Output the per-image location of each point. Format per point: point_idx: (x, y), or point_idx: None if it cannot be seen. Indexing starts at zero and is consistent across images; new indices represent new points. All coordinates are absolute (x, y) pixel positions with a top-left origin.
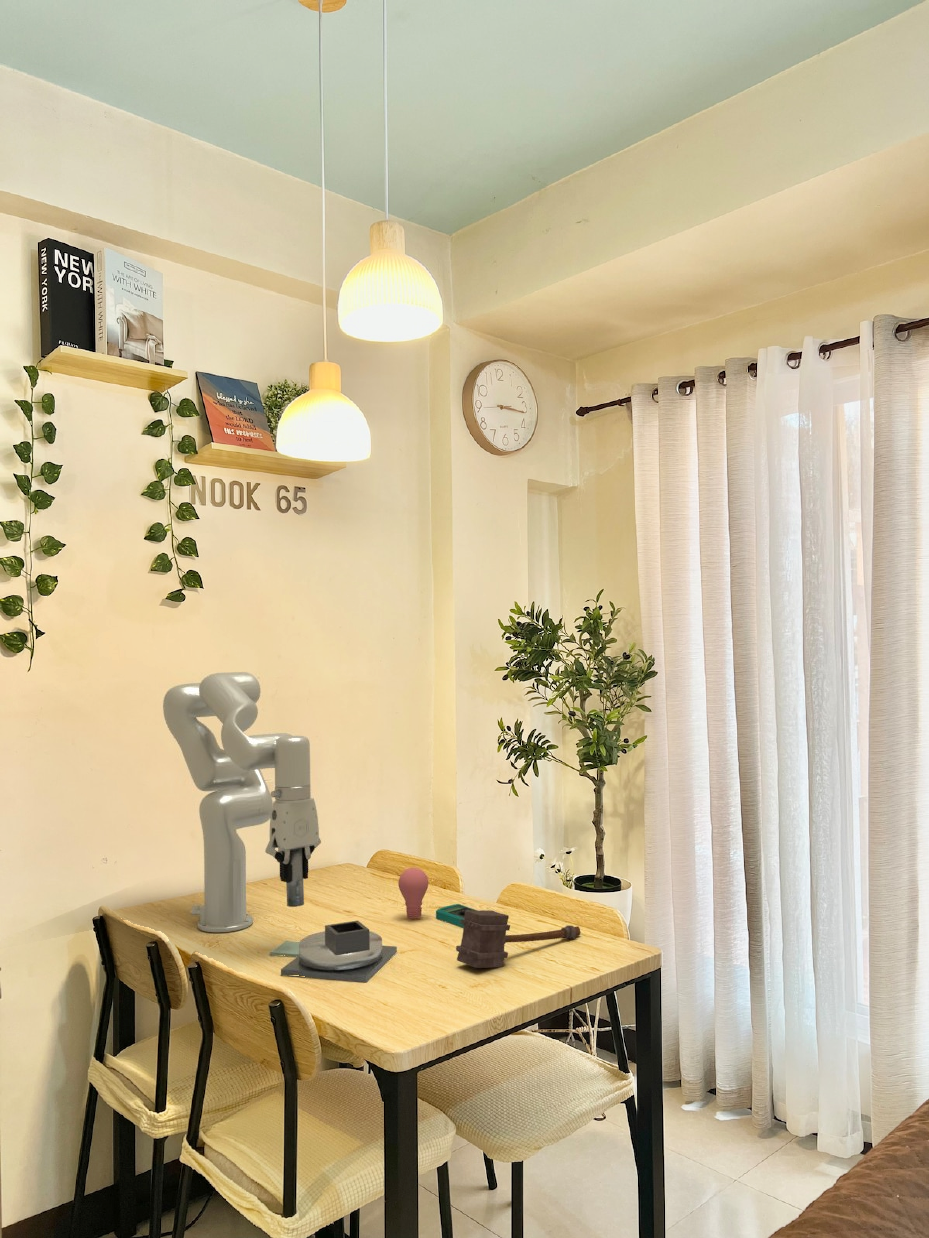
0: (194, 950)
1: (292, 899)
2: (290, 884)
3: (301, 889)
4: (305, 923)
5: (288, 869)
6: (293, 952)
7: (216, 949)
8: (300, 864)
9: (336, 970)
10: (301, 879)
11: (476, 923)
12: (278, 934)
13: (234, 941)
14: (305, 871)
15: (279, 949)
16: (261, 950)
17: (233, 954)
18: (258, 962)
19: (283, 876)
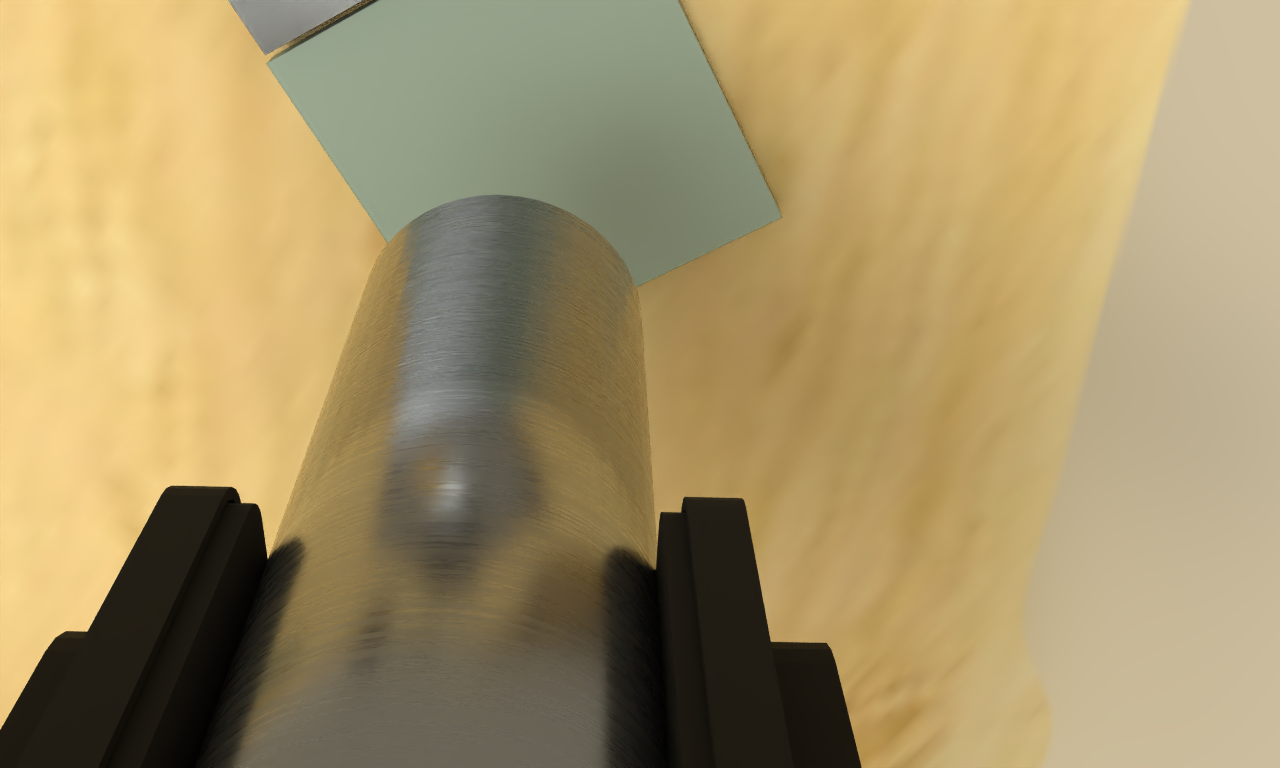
0: (1046, 711)
1: (619, 312)
2: (641, 502)
3: (432, 336)
4: (28, 651)
5: (781, 739)
6: (634, 22)
7: (941, 629)
8: (344, 765)
9: None
10: (392, 461)
11: None
12: None
13: None
14: (184, 608)
15: (668, 212)
16: (738, 366)
17: (953, 452)
18: (988, 115)
19: (833, 674)
